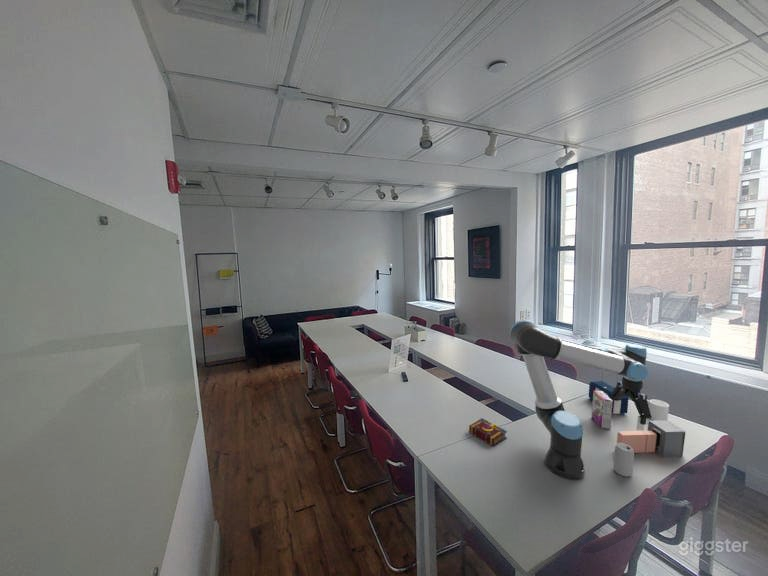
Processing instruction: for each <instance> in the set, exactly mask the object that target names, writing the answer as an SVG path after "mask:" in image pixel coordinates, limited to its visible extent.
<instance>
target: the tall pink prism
mask: <svg viewBox="0 0 768 576" xmlns="http://www.w3.org/2000/svg"><path fill="white" fill-rule="evenodd" d="M656 436H657V434H655V433H654V432H652V431H648V430H626V431H625V430H621V431H617V436H616V437H617V438H616V444H617V443H624V444H627V445H629V446H631V447H632V448H633V451H634V454H636V453H638V454H639V453H655V452H656V451H655V450H656V448H655V445H656Z"/></svg>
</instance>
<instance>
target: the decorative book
mask: <svg viewBox="0 0 768 576" xmlns="http://www.w3.org/2000/svg"><path fill="white" fill-rule="evenodd" d="M468 428H469V433H470V434H471V435H473V436H474V437H475V438H477V439H480V440H482V441H483V442H484V444H485V443H486V444H487V445H490V446H492V447H495V446H496V445H498V444H500V443H501V442H504V441H505V440H506V439H507V436H506V434H507V432H508V431H507V429H505V428H502V427H499V426H497V425H496V424H495V423H491V422H489V421H488V420H486V419H485V418H483V417H481V418H479V419H478V420H477V421H475V422H473V423H472V424H469V427H468Z"/></svg>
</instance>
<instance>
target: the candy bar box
mask: <svg viewBox="0 0 768 576" xmlns="http://www.w3.org/2000/svg"><path fill="white" fill-rule="evenodd" d="M612 405H613V400H611V399H610V398H609V397H608V396H607V395H606V394H605V393H604V392H603V391H596V390H595V391H593V401H592V407H591V410H592V411H591V418H592V419H593V420H594V422H596V424H597V425H598V426H599V427H600V428H601V429H604V430H605V429H608V430H612V429H611V428H612V419H613V418H612V417H613V413H612Z"/></svg>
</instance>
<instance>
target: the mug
mask: <svg viewBox="0 0 768 576" xmlns="http://www.w3.org/2000/svg"><path fill="white" fill-rule="evenodd" d="M647 402H648V406H649V410H650V413H651V417H652V418H648V420H650V421H655V420H667V421H669V420H668V419H669V412H670V405H669V403H667V402H665V401H663V400H660V399H647Z"/></svg>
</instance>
